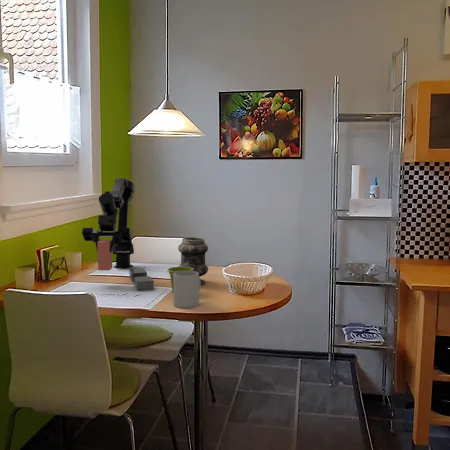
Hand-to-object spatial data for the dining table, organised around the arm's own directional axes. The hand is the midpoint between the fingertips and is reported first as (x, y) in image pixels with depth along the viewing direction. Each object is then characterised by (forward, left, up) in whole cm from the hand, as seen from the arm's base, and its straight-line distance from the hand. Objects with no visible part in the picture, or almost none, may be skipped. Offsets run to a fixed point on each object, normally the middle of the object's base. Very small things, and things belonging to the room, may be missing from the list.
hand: (103, 251), depth 200 cm
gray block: (-9, +10, -13) cm, 19 cm away
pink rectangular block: (-1, -1, -7) cm, 7 cm away
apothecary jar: (-19, +28, -13) cm, 37 cm away
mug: (+7, +42, -13) cm, 45 cm away
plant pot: (-5, +31, -13) cm, 35 cm away
